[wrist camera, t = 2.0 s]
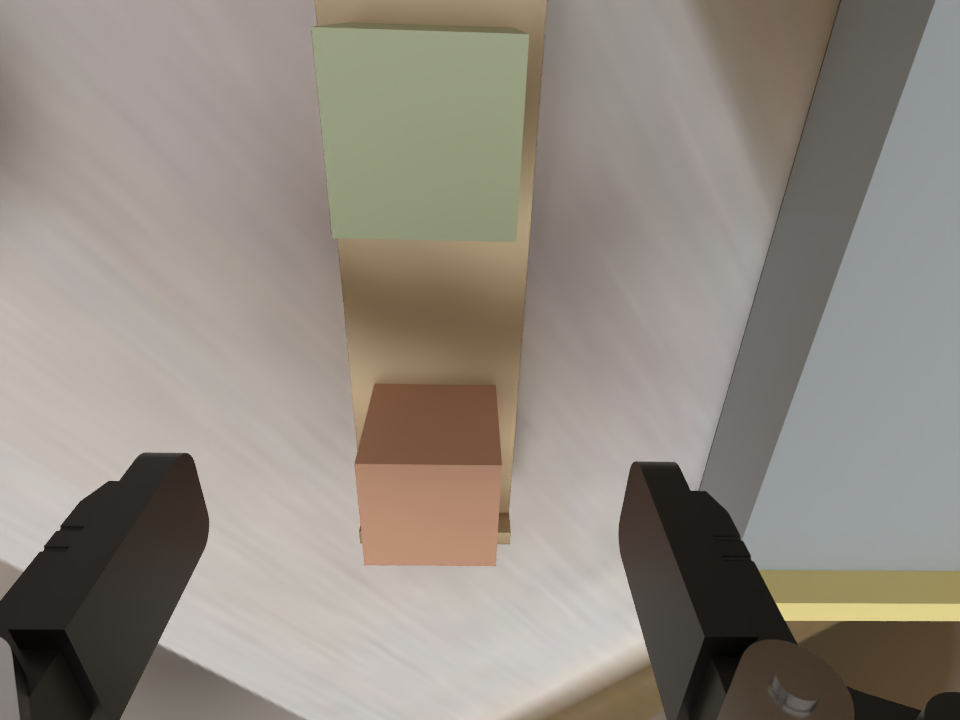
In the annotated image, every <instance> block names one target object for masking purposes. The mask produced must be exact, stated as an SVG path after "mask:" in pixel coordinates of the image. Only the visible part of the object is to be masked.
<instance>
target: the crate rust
mask: <svg viewBox="0 0 960 720" xmlns="http://www.w3.org/2000/svg"><path fill="white" fill-rule="evenodd" d="M501 473H502V459H501V446H500V433H499V420H498V407H497V394H496V385H437V384H374V386H373V390H372V395H371V399H370V403H369V407H368V411H367V415H366V419H365V423H364V427H363V431H362V435H361V439H360V444H359V448H358V452H357V456H356V460H355V474H356V484H357V494H358V504H359V514H360V524H361V534H362V544H363V554H364V564H365V565H438V566H496V552H497V536H498V521H499V505H500V489H501Z"/></svg>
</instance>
